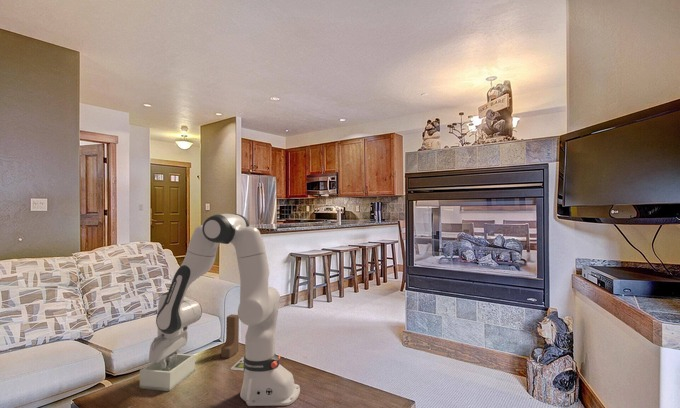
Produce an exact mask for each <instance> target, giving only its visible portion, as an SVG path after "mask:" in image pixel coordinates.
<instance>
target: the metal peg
mask: <svg viewBox="0 0 680 408" xmlns="http://www.w3.org/2000/svg"><path fill="white" fill-rule="evenodd" d="M165 361H166V362H168V364H167V365H168V366H167V367H166V368H162V371H171V370H172V369H174V368H175V353H172V354H170V355H169V356H167V357H166V360H165Z"/></svg>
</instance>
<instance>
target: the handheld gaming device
mask: <svg viewBox="0 0 680 408" xmlns="http://www.w3.org/2000/svg"><path fill="white" fill-rule="evenodd" d="M244 356H245V355H243V356H242V357H241V358H240V359H239V360H238V361H237V362H236V363H234V364H233V365H232V366H231V368H230V371H237V372H238V371H241V372H244Z"/></svg>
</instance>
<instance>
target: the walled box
mask: <svg viewBox="0 0 680 408" xmlns="http://www.w3.org/2000/svg"><path fill="white" fill-rule="evenodd" d="M195 372H196V354H189V353H188V354H187V353H186V354H185V353H178V354H177V357H176V361H175V368H174V369H172V370H171V371H162V368H161V363H160V361H159V362H158V363H153V362H150V363H149V364H148V365H146V366H144V367H142V368H140V370H139V389H145V390H153V391H155V390H156V391H164V392H171V390H173V389H174V388H175V387H177V386H178V385H179V384H181V383H182V382H183V381H185V380H186V379H187V378H189V376H191V375H192V374H194V373H195Z"/></svg>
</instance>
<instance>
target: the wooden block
mask: <svg viewBox="0 0 680 408" xmlns="http://www.w3.org/2000/svg"><path fill="white" fill-rule="evenodd" d="M239 323H240V319H239V317H238V314H232V313H231V314H229V315H228V316H226V328H225V329H226V331H225V333H226V335H225V337H226V338H225V343H224V344H223V346H222V347H221V349H220V358H223V359H225V358H226V359H230V358H232V357H233V356H234V355H235V354H237V353H238V352H239V340H240V339H239V333H240V332H239V330H240V329H239V328H240V325H239Z"/></svg>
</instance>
